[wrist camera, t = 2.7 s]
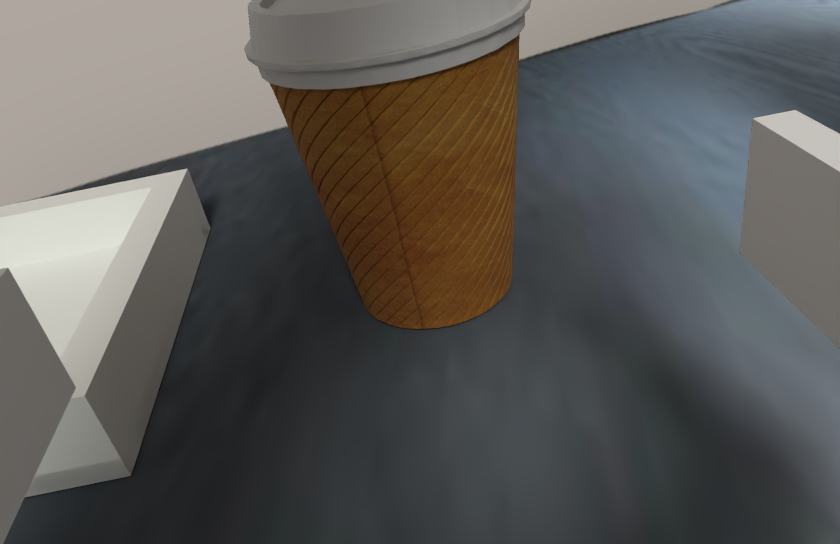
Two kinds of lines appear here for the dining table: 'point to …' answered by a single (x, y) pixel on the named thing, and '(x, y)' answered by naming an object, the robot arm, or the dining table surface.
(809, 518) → the dining table surface
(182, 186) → the tray
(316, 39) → the disposable coffee cup
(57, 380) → the robot arm
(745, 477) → the dining table surface
